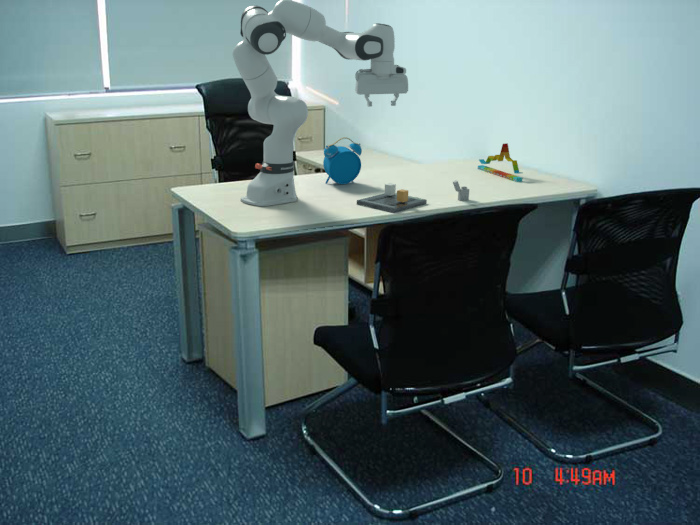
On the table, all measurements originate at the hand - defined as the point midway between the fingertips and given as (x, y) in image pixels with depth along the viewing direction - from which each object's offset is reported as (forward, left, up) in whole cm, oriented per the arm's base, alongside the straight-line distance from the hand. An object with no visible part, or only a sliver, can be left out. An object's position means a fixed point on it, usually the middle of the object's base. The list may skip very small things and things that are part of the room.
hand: (381, 106), depth 288 cm
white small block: (-2, -7, -33) cm, 34 cm away
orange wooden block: (-7, -17, -33) cm, 38 cm away
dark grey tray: (-7, -12, -35) cm, 38 cm away
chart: (+71, -12, -36) cm, 80 cm away
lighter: (+17, -27, -35) cm, 48 cm away
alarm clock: (+5, +25, -35) cm, 44 cm away
